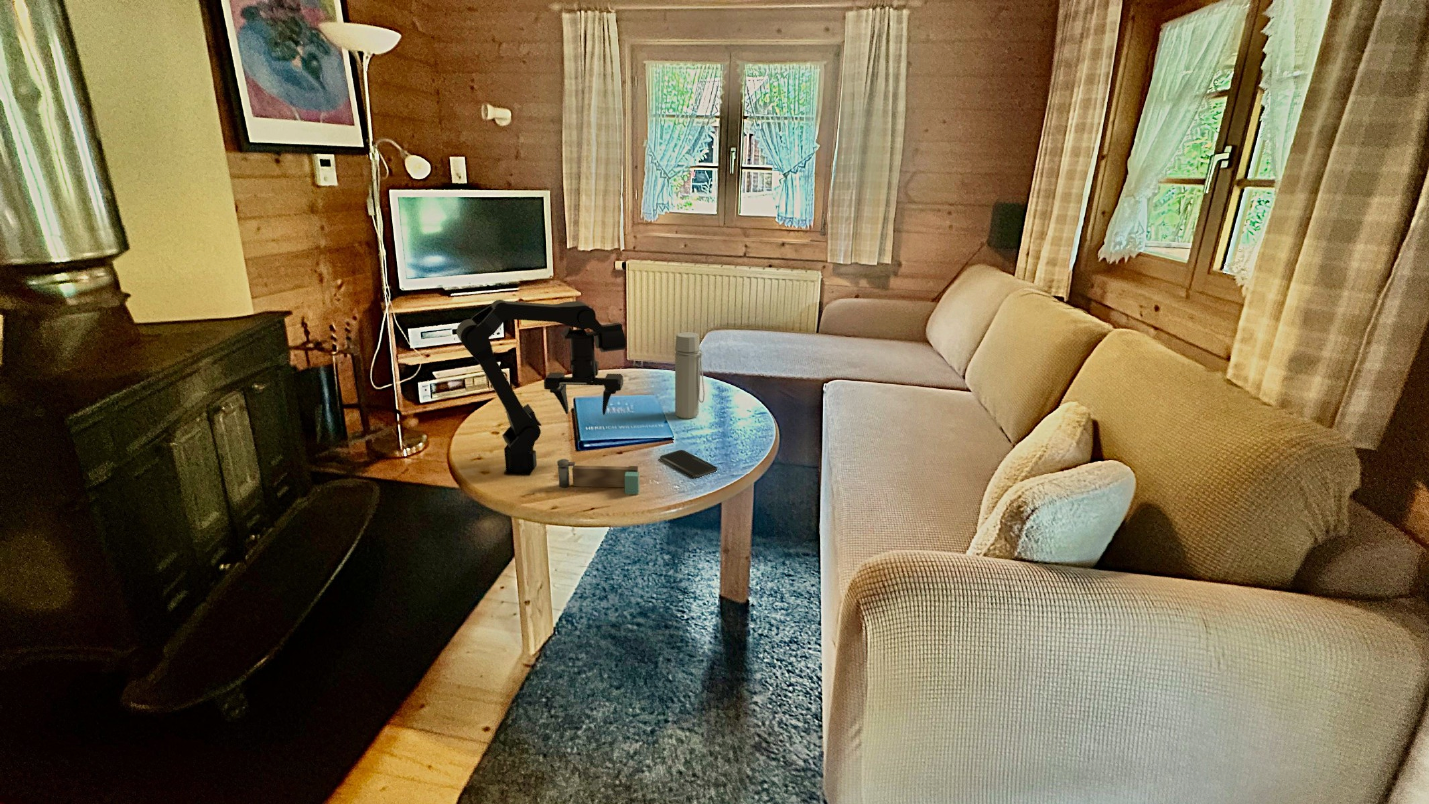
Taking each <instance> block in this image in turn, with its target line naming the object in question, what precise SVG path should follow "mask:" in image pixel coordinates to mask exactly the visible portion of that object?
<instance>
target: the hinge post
mask: <svg viewBox="0 0 1429 804" xmlns="http://www.w3.org/2000/svg"><path fill="white" fill-rule="evenodd" d="M569 467H570V466H566V467H559V466H557V470H558V471H557V473H558V485H559V488H562V489H566V488H569V487H570V485H571V484H570V483H571V482H570V468H569Z"/></svg>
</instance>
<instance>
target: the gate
mask: <svg viewBox="0 0 1429 804" xmlns="http://www.w3.org/2000/svg"><path fill="white" fill-rule="evenodd" d="M566 466H569V467H572V468H571V470H572V486H573V487H600V488H601V487H605V488H606V487H607V488H608V487H610V488H611V487H613V488H615V487H616V488H625V473H626V472H639V465H629V466H621V465H620V466H619V465H618V466H617V465H616V466H613V465H609V466H608V465H607V466H606V465H576V462H575V461H569V460H568V459H566V458H564V459H559V460H557V467H566Z"/></svg>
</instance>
